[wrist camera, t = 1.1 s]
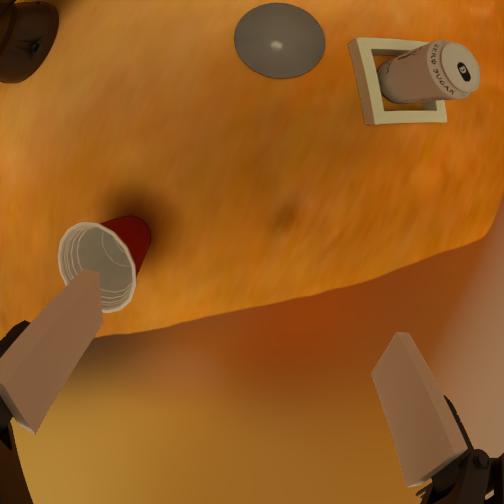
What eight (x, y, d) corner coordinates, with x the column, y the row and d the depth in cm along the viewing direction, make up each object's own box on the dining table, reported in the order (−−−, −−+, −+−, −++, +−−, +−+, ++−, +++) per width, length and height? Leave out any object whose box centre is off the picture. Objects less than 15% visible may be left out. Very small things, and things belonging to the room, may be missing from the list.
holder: (347, 44, 28) (356, 37, 24) (419, 47, 26) (431, 42, 23) (364, 124, 32) (374, 124, 29) (433, 121, 31) (447, 122, 28)
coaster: (227, 12, 26) (226, 10, 26) (312, 1, 25) (313, -1, 25) (244, 85, 31) (244, 84, 30) (332, 73, 30) (333, 72, 29)
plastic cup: (159, 190, 36) (119, 217, 25) (175, 264, 41) (147, 312, 30) (93, 202, 37) (43, 231, 26) (112, 269, 41) (73, 312, 30)
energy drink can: (398, 56, 28) (463, 30, 14) (420, 94, 29) (492, 87, 16) (365, 71, 29) (424, 45, 15) (389, 111, 31) (457, 108, 17)
